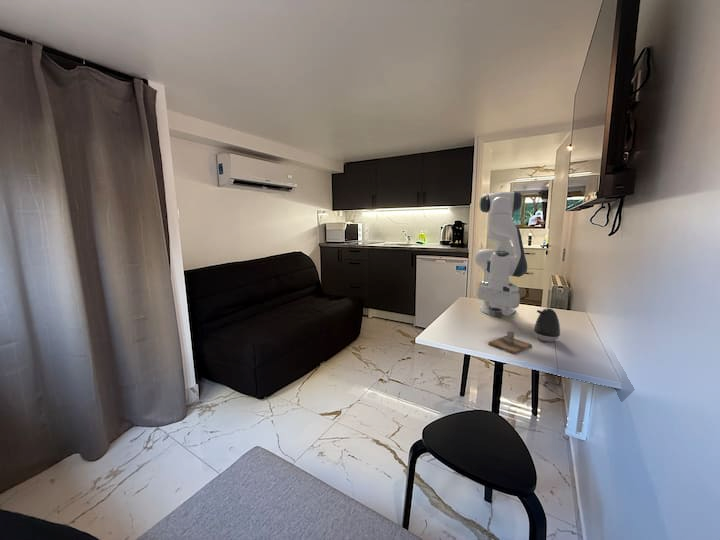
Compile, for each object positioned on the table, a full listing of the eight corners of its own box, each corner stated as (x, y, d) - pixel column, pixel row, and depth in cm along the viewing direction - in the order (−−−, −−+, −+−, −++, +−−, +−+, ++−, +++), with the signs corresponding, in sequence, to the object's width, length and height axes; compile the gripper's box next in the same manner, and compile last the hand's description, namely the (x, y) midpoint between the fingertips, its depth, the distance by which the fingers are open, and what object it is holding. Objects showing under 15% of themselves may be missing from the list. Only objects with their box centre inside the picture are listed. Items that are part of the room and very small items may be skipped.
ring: (493, 312, 150) (493, 306, 149) (505, 315, 144) (506, 310, 144) (485, 314, 146) (486, 308, 146) (497, 318, 141) (498, 312, 140)
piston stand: (505, 337, 140) (506, 325, 139) (531, 346, 131) (532, 333, 130) (488, 344, 133) (489, 331, 132) (514, 354, 123) (515, 340, 122)
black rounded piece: (528, 335, 143) (531, 305, 140) (550, 335, 143) (553, 305, 140) (540, 344, 133) (543, 311, 130) (564, 344, 132) (567, 311, 130)
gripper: (475, 281, 149) (473, 307, 152) (515, 290, 132) (512, 319, 135) (483, 279, 152) (481, 305, 155) (522, 288, 136) (519, 316, 138)
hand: (495, 312), depth 145 cm, fingers closed on ring, 7 cm apart
